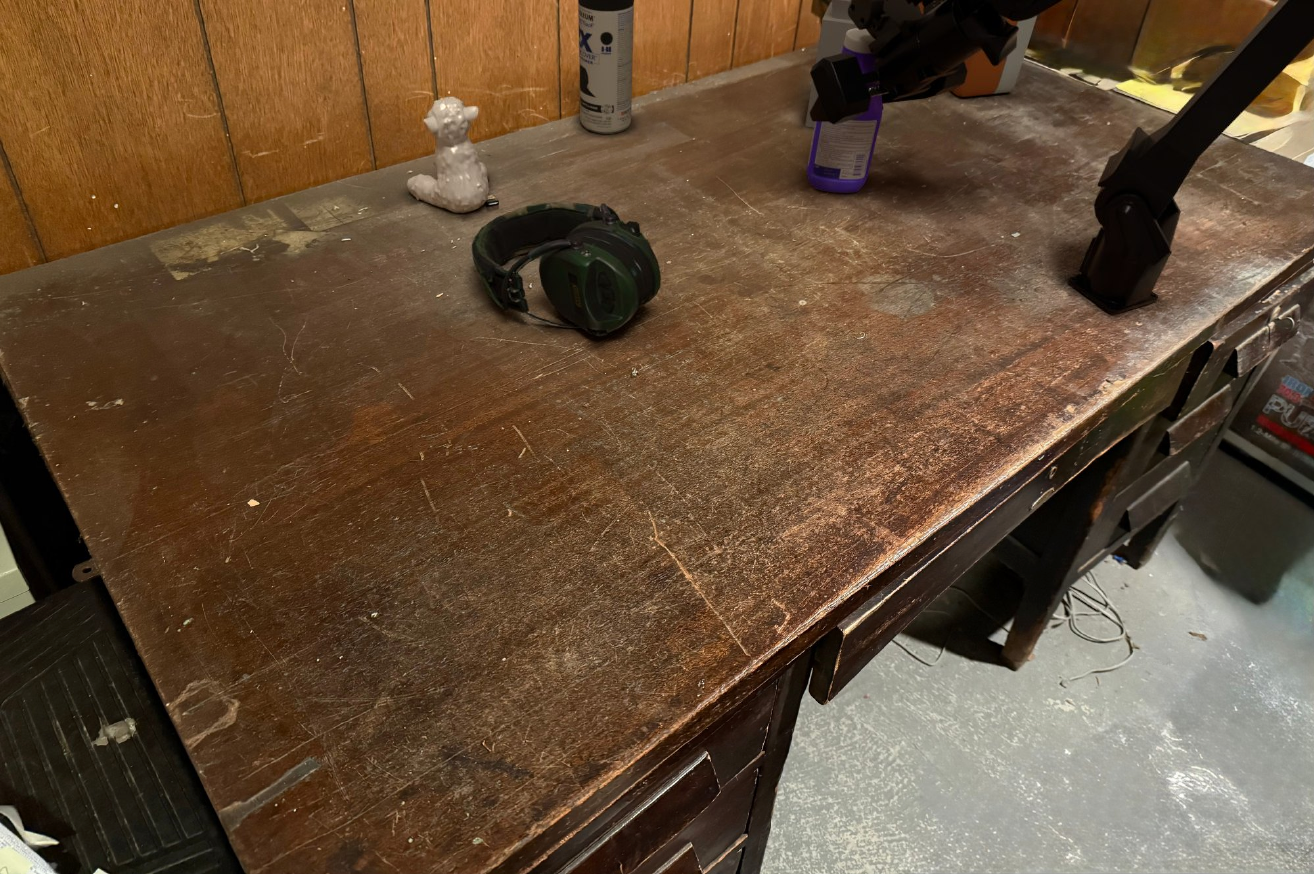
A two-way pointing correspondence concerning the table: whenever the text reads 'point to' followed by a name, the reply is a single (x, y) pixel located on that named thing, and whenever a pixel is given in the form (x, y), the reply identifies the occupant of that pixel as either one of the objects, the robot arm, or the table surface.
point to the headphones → (570, 263)
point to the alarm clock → (982, 72)
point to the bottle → (847, 134)
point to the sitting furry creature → (452, 160)
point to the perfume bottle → (831, 40)
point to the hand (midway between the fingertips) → (842, 108)
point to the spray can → (605, 64)
